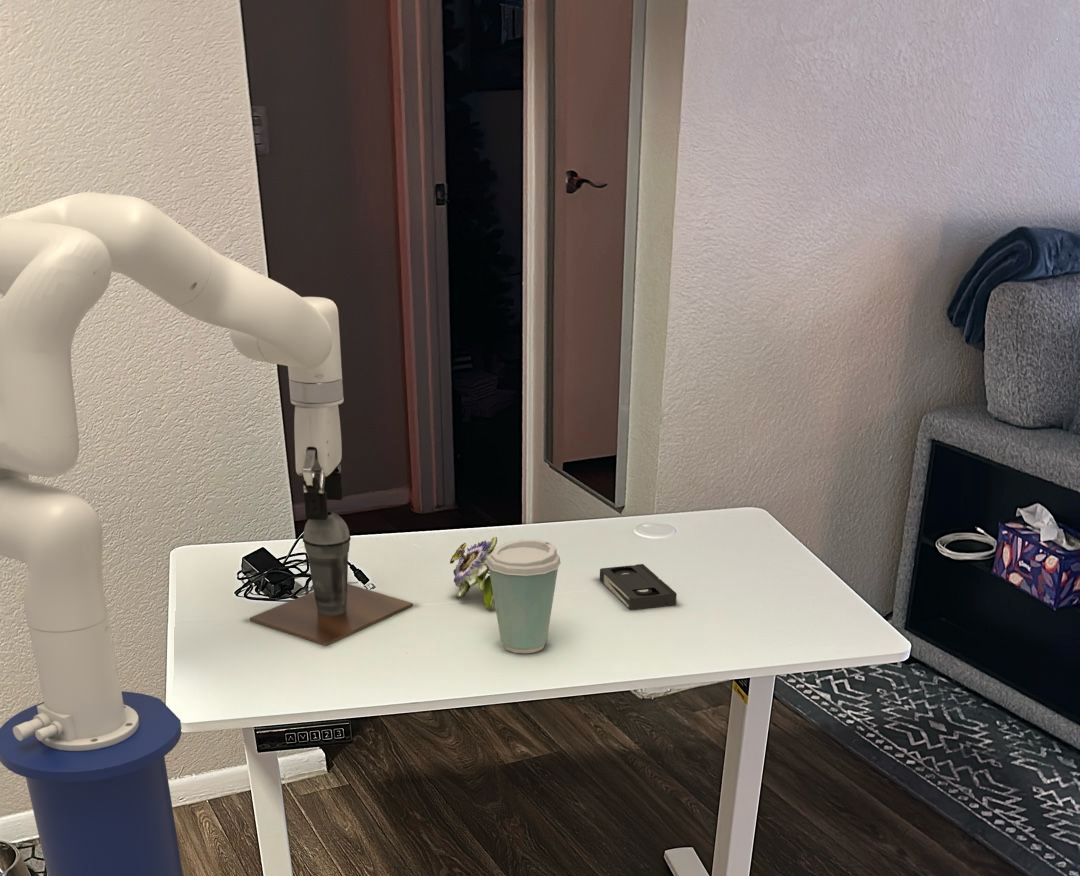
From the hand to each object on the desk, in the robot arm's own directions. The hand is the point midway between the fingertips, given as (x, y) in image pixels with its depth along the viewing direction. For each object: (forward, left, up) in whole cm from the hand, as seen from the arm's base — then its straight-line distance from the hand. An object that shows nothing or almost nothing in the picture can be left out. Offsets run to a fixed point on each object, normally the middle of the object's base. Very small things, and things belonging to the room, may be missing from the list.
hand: (324, 508), depth 192 cm
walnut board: (0, 0, -17) cm, 17 cm away
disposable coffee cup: (+8, -31, -17) cm, 36 cm away
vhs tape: (+37, -33, -17) cm, 52 cm away
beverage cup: (0, 0, -16) cm, 16 cm away
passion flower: (+20, -15, -17) cm, 30 cm away
